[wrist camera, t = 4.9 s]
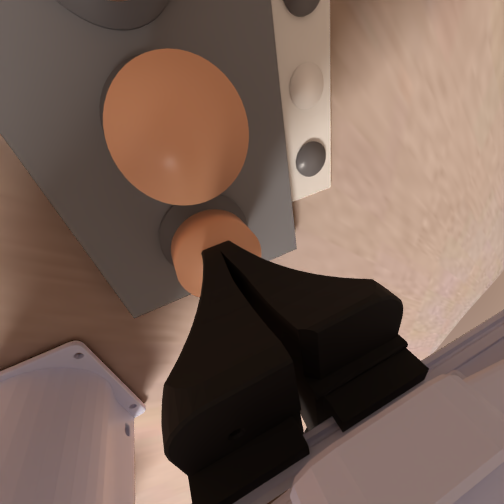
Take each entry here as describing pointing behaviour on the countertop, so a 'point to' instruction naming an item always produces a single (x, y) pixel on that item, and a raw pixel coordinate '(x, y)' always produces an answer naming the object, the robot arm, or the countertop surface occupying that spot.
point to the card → (305, 91)
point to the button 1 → (206, 243)
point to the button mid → (175, 127)
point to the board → (92, 132)
